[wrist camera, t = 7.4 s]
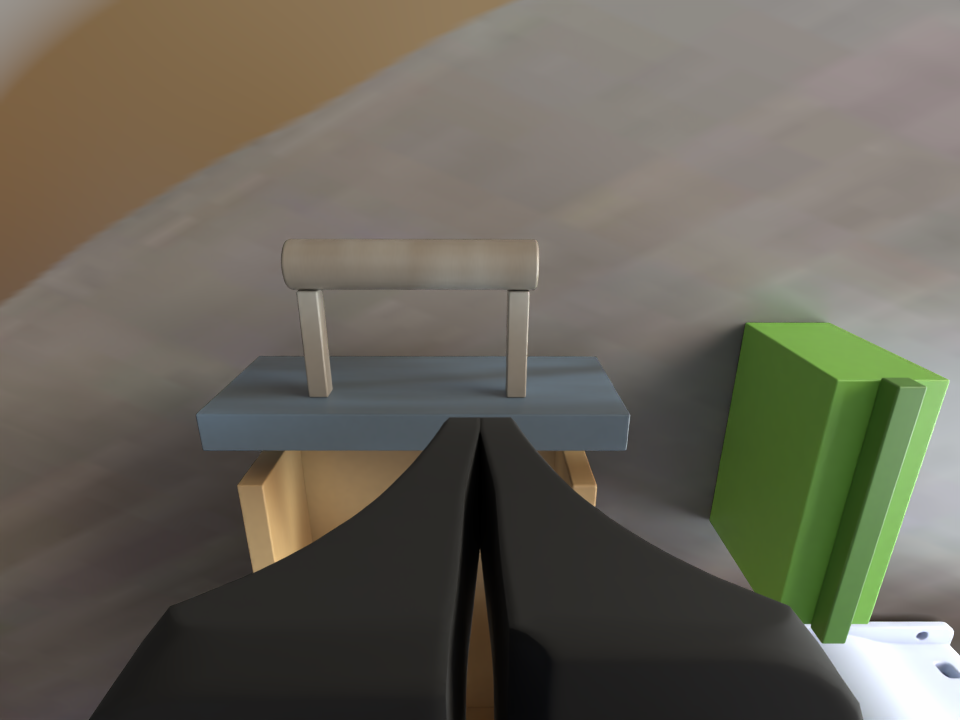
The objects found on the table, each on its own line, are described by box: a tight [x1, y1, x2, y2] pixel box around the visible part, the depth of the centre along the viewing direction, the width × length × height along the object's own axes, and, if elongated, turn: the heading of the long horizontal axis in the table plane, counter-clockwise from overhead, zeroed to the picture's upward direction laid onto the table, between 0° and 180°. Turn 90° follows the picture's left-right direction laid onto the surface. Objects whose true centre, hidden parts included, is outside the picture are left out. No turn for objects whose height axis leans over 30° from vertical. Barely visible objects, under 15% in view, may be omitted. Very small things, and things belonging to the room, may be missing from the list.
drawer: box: [196, 239, 630, 720], centre depth 20 cm, size 22×12×5 cm, turn 0°
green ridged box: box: [710, 323, 949, 644], centre depth 19 cm, size 3×9×6 cm, turn 0°
